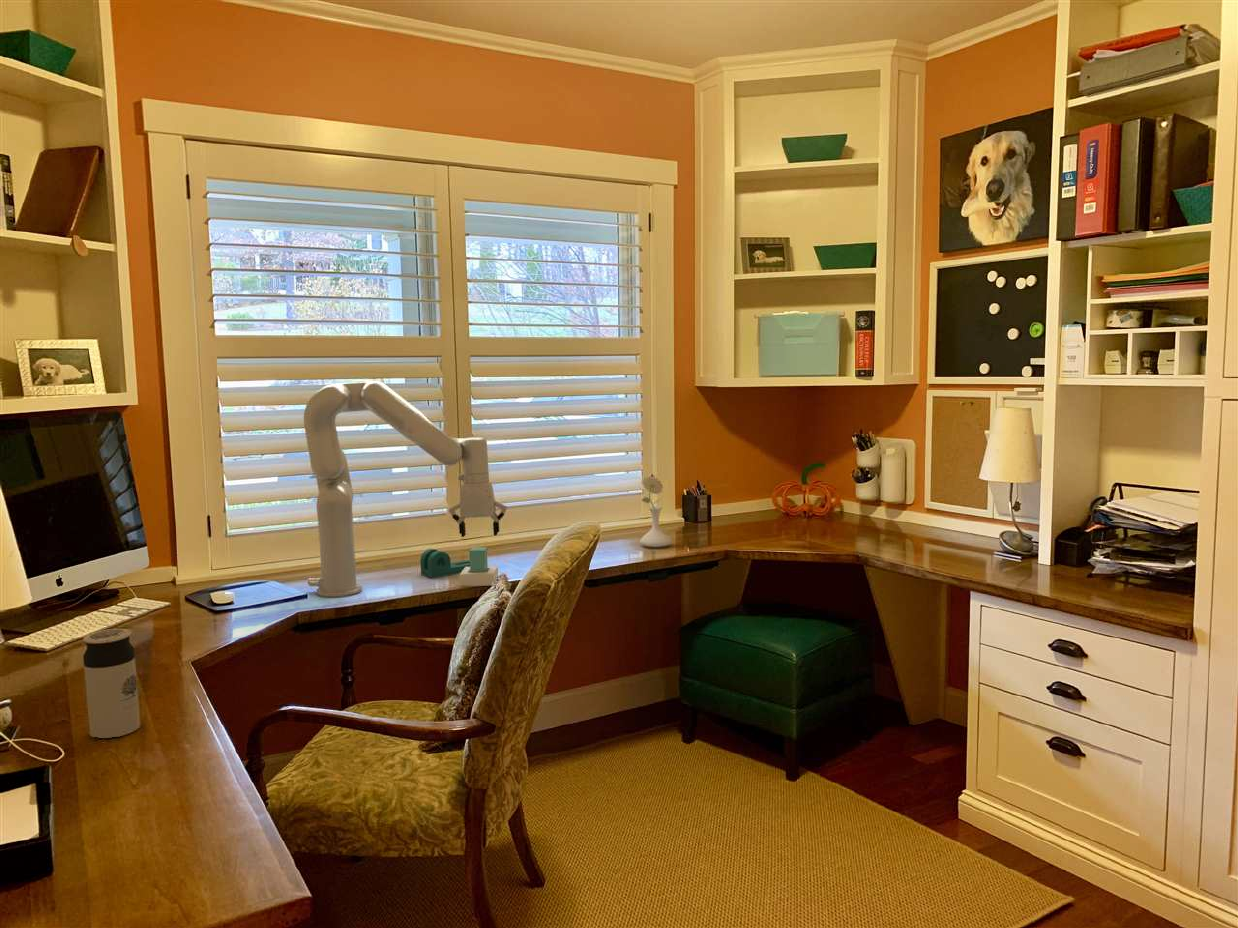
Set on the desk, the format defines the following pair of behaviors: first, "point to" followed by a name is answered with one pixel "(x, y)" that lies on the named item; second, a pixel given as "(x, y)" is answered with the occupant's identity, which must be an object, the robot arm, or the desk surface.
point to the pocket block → (478, 577)
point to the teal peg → (478, 560)
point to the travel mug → (111, 683)
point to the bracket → (440, 564)
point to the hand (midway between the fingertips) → (479, 535)
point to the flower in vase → (654, 516)
